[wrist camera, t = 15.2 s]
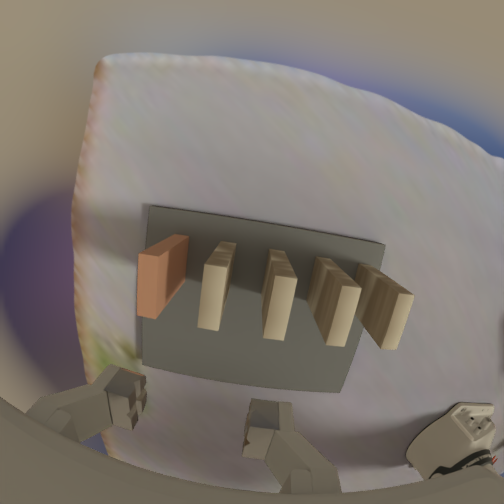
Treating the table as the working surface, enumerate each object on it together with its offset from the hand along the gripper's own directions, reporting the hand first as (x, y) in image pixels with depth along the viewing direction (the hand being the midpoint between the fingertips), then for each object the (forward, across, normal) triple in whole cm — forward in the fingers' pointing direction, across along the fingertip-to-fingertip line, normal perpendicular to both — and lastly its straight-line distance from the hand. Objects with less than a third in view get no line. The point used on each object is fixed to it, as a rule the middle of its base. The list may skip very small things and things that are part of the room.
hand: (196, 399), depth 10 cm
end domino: (+21, +7, 0) cm, 22 cm away
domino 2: (+21, -3, 0) cm, 21 cm away
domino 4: (+22, -13, 0) cm, 25 cm away
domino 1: (+21, +2, 0) cm, 21 cm away
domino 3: (+21, -8, 0) cm, 23 cm away
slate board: (+22, -2, +5) cm, 23 cm away
